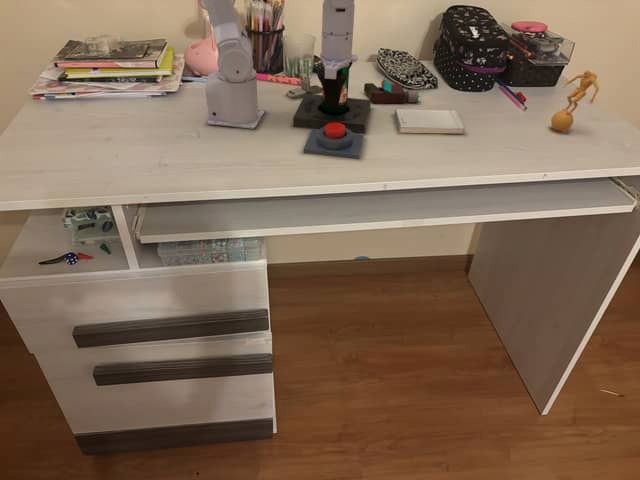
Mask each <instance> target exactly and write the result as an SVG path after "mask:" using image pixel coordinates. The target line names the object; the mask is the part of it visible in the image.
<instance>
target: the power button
mask: <svg viewBox="0 0 640 480" xmlns="http://www.w3.org/2000/svg"><path fill="white" fill-rule="evenodd" d="M325 136H326V137H328V138H330V139H341V138H344V137H345V126H344V125H343V124H341V123H329V124H327V125H326V126H325Z"/></svg>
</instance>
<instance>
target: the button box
mask: <svg viewBox="0 0 640 480" xmlns="http://www.w3.org/2000/svg"><path fill="white" fill-rule="evenodd" d="M364 137H365V134H359V133H352V132H351V130H350V129H347V128H345V137H344V138H341V139H330V138H328V137H326V136H325V127H323V128H321V129H311V130H310V132H309V135H308V138H307V140H306V142H305V145H304V148H303V153H304V154H308V155H317V156H318V155H319V156H327V157H335V158H345V159H354V160H355V159H356V160H359V159H360V156H361V152H362V147H363V142H364Z"/></svg>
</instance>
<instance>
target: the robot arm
mask: <svg viewBox="0 0 640 480" xmlns="http://www.w3.org/2000/svg"><path fill="white" fill-rule="evenodd" d="M203 3H204V7H205V9H206V12H207V15H208V18H209V21H210V23H211V27H212V31H213V38H214V42H215V47H216V49H217V68H218V71H217V72H210V73H209V74H208V75H207V78H206V81H205V98H206V107H207V116H208V121H207V124H208V125H210V126H211V125H212V126H220V127H221V126H222V127H233V128H240V129H250V130H251V129H256V128H257V126H258V124H259V122H260V121H261V119H262V118H263V116H264V114H265V110H264V109H259V99H258V98H259V97H258V81H257V80H258V78H257V70H256V69H254V59H253V54H254V46H253V42H252V40H251V38H250V37H249V36H248V35H247V34H246V33H245V32H244V29H243V26H242V22H241V21H240V20H239V17H238V14H237V11H236V8H235V5H234V2H233V0H203ZM355 6H356V5H355V0H323V1H322V12H321V13H322V14H321V15H322V17H321V47H320V48H321V49H320V50H321V51H320V54H319V59H320V60H319V61H320V62H321V63H322V66H323V65H324V67H325V70H323V69H318V71H317V78H318V80H319V82H320V85H321V88H322V87H323V91H324V96H325V101H326V106H327V108H337V107H338V104H339V101H340V96H341V91H342V87H343V85H344V83H345V81H346V79H347V77H348V75H349V76H350V73H349V74H342V73H339V72H338V70H339V69H340V68H342V67H344V66H345V65H347V64H348V63H349V64H350V67H349V70H350V69H351V67H352V66H353V64H354V63H356V62H358V59H359V56H358V55H357V54H353V38H354V37H353V36H354V25H355V8H356V7H355Z"/></svg>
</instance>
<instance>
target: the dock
mask: <svg viewBox="0 0 640 480" xmlns="http://www.w3.org/2000/svg"><path fill="white" fill-rule="evenodd" d="M371 104H372V102H371V100H370V99H364V98H362V99H361V98H356V97H355V98H354V97H348V98H347V113H346V114H343V115H327V114H323V113H322V94H308V93H306V94H305V95H304V97H302V99H301V101H300V103H299V105H298V108H297V110H296V112H295V114H294V116H293V121H292V124H293V127H294V128H300V129H311V130H319V129H321V128H323V127H325V126H326V125H327V124H329V123H341V124H343V125H344V126H345V128H347V129H350V130H351V132H352V133H353V134H361V135H365V134H366V131H367V130H366V129H367V125H368V120H369V116H370V111H371Z"/></svg>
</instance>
